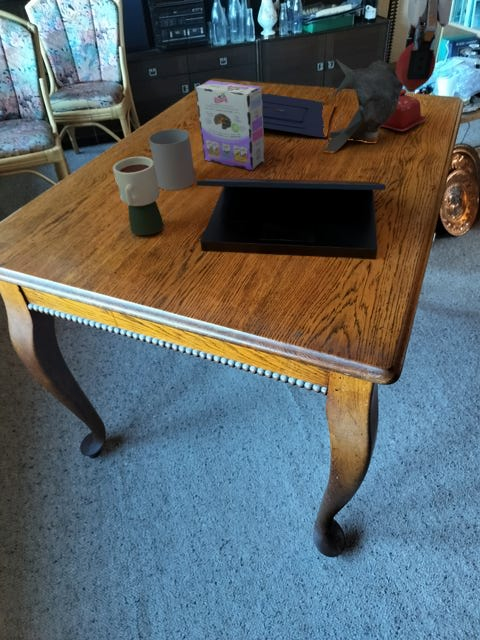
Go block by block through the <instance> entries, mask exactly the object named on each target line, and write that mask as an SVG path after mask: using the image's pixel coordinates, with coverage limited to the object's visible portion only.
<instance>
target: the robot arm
mask: <svg viewBox="0 0 480 640" xmlns="http://www.w3.org/2000/svg"><path fill="white" fill-rule="evenodd" d="M407 4H408V5H407V18H408V20H409V22H410V23H409V28H408V33H407V34H408V35H407V38H406V41H405V48H404V50H405V49H406V48H407V47H408V46H409V45H411V44H412V43H414V47H413V50H411V53H410V59H409V65H408V71H407V79H408V80H426V79H428V78H429V73H430V68H431V63H432V58H433V53H434V52H435V50H434V48H435V44H436V38H437V37H436V36H437V29H438V24H439V26H441V27H442V28H445V27H446V26H448V24H450V23H449V22H450V18H451V11H452V7H453V6H452V5H453V0H408V3H407ZM434 54H435V53H434ZM429 79H430V78H429Z"/></svg>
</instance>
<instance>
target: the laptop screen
mask: <svg viewBox="0 0 480 640" xmlns="http://www.w3.org/2000/svg"><path fill="white" fill-rule="evenodd" d="M195 181H196V183H195V184H196V186H199V187H219V188H221V187H222V188H223V187H261V188H302V189H344V190H374V191H386V188H387V185H386V184H385V183H381V182H377V181H372V180H371V181H370V180H369V181H368V180H367V181H366V180H365V181H364V180H325V179H323V180H322V179H321V180H319V179H318V180H317V179H280V178H279V179H276V178H275V179H274V178H273V179H272V178H227V177H226V178H225V177H223V178H212V179H199V180H195Z"/></svg>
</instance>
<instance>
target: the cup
mask: <svg viewBox="0 0 480 640" xmlns="http://www.w3.org/2000/svg"><path fill="white" fill-rule="evenodd" d="M190 138H191V137H190V134H189V132H188V131H187V130H185V129H181V128H180V129H179V128H169V129H168V128H167V129H162V130H158V131H156V132H154V133H152V134H151V135H150V136H149V137H148V142H149V148H150V152H151V157H152V158H151V159H152V160H153V161H154V165H155V170H156V176H157V181H158V186H159V189H161V190H165V191H171V192H173V191H181V190H185V189H188V188H189V187H191V186H192V185H194V184H195V181H196V175H195V168H194V159H193V154H192V152H193V151H192V145H191V139H190Z"/></svg>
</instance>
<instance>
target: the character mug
mask: <svg viewBox="0 0 480 640" xmlns="http://www.w3.org/2000/svg"><path fill="white" fill-rule="evenodd" d="M112 171H113V175H114V179H115V182H116V184H117V187H118V193H119V199H120V200H121V202H123V203H124V204H125V205H127V206H128V220H129V221H128V222H129V226H130V231H131V233H132V234H134V235H135V236H148V235H153V234H156V233H159V232H160V231H163V228H164V226H165V224H164V221H163V217H162V214H161V211H160V208H159V206H158V203H157V200H158V199H159V198H160V187H159V186H158V181H157V176H156V170H155V165H154V161H153V158H150V157H147V156H141V155H140V156H139V155H138V156H131V157H127V158H122V159H121V160H119V161H117V162H115V163H114V164H113V165H112Z"/></svg>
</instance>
